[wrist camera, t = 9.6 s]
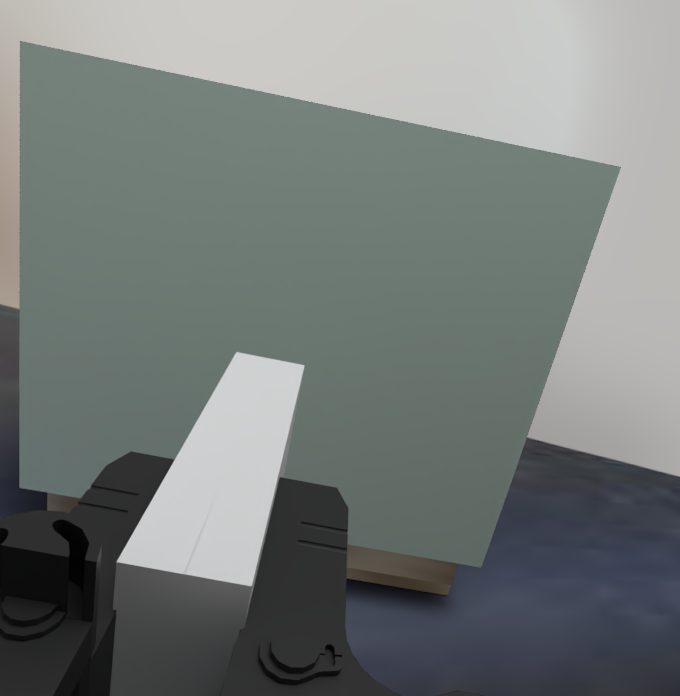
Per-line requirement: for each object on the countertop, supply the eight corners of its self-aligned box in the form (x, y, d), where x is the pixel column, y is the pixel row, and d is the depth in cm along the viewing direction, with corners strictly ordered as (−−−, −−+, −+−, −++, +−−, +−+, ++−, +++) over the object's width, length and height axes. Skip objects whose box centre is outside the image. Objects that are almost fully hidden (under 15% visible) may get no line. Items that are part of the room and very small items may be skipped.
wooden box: (418, 456, 37) (455, 326, 34) (447, 595, 26) (505, 421, 23) (140, 406, 37) (152, 268, 33) (46, 527, 25) (50, 336, 22)
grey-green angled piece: (435, 415, 37) (509, 153, 31) (481, 567, 24) (621, 167, 18) (139, 360, 36) (160, 80, 30) (19, 487, 23) (19, 40, 17)
